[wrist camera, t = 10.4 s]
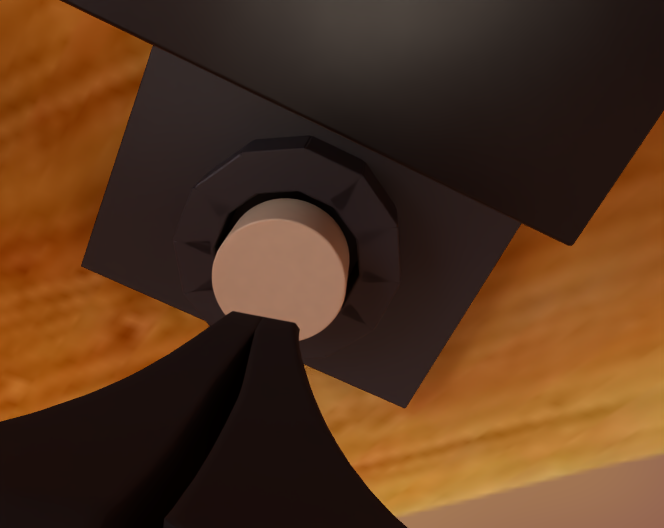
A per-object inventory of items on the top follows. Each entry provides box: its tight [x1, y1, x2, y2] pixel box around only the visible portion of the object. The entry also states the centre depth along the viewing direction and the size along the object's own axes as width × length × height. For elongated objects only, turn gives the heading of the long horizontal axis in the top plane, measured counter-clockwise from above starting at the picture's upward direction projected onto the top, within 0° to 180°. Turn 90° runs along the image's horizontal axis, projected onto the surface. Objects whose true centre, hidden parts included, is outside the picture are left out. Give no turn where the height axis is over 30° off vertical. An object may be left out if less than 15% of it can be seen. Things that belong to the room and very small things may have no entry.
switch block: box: [81, 45, 521, 408], centre depth 19 cm, size 12×8×3 cm, turn 65°
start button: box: [212, 198, 349, 341], centre depth 17 cm, size 4×4×2 cm
